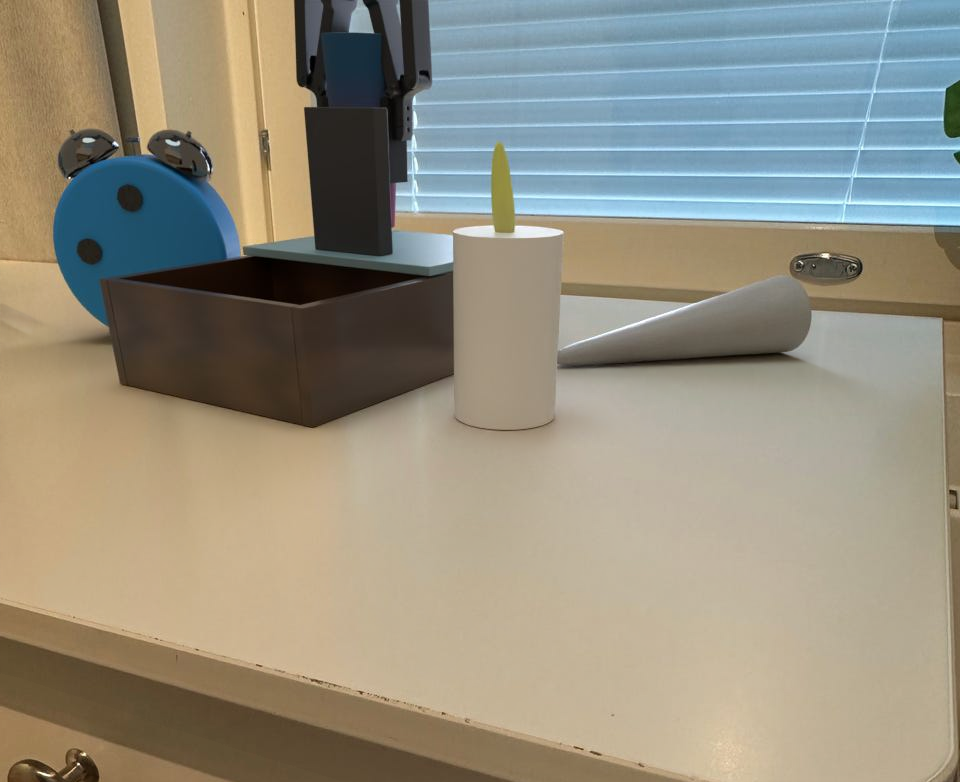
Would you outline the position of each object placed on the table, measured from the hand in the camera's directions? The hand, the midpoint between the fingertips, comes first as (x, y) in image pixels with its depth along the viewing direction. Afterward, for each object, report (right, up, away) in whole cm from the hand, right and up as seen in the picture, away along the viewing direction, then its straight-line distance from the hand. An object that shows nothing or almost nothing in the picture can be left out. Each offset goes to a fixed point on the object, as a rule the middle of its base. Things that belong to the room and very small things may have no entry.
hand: (366, 179), depth 82 cm
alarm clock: (-16, -18, -8) cm, 25 cm away
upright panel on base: (+4, -13, -14) cm, 19 cm away
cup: (0, -4, +2) cm, 4 cm away
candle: (+12, -29, -26) cm, 41 cm away
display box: (+1, -21, -15) cm, 26 cm away
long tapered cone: (+26, -22, -14) cm, 36 cm away
